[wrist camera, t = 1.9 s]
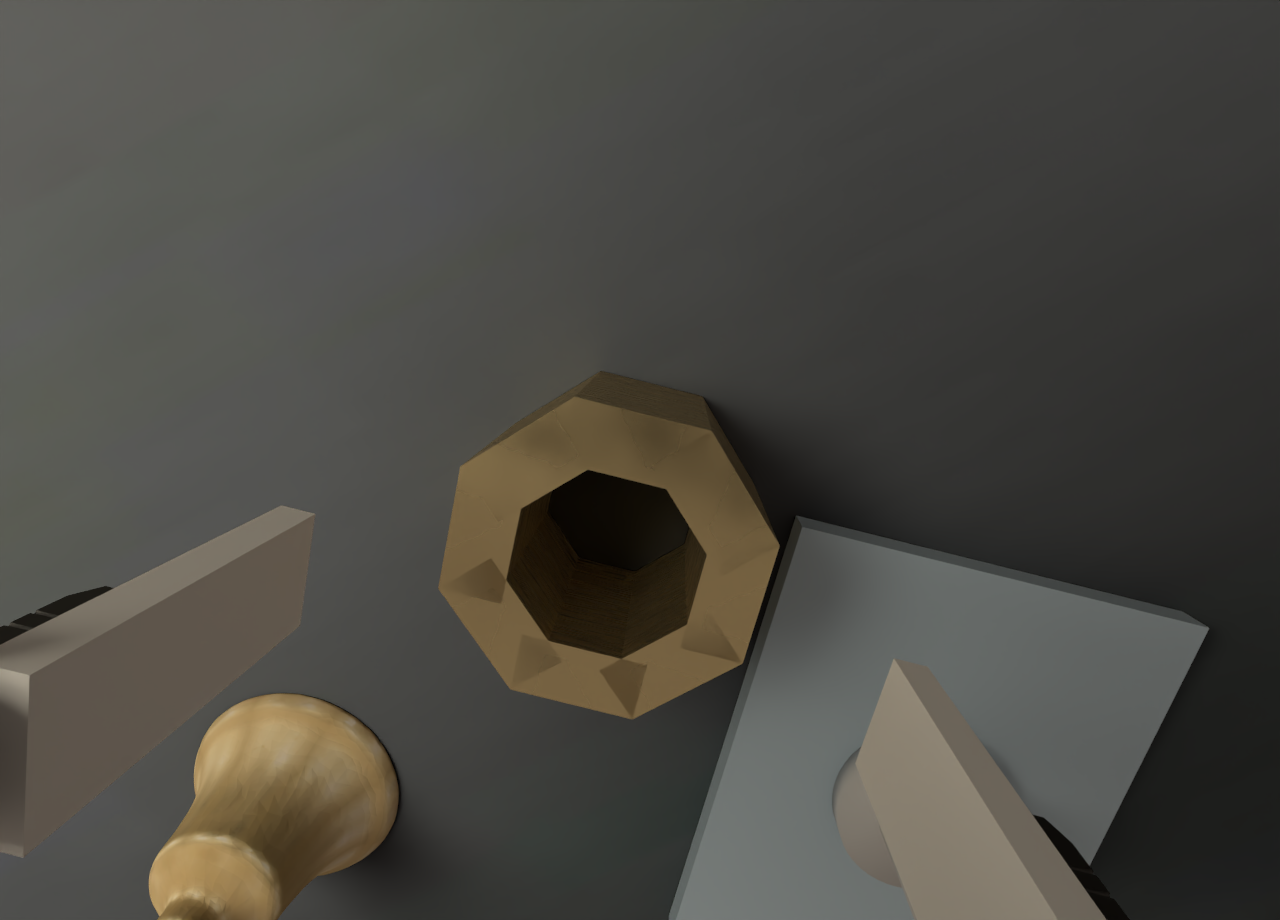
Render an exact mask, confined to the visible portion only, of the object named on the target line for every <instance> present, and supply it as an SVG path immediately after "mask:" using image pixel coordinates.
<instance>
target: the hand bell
mask: <svg viewBox="0 0 1280 920" xmlns="http://www.w3.org/2000/svg"><path fill="white" fill-rule="evenodd" d="M194 787H195V793H196V797H195V800H194V802H193V804H192V806H191V808H190V810H189V811H188V813H187V815H186V816H185V818H184V819H183V821H182V822H181V824H180V825H179V827H178V828H177V830H176V831H175V832H174V834H173V835H172V836H171V838H170V839H169V840H168V842H167V843H166V844H165V845H164V847H163V848H162V849H161V851H160V852H159V854H158V855H157V857H156V859H155V861H154V863H153V865H152V868H151V872H150V877H149V891H150V897H151V900H152V903H153V905H154V907H155V909H156V911H157V913H158V914H159V916H160V917H159V918H158V919H157V920H277V919H278V918H279V916H280V915H281V914H282V912H283V911H284V910H285V909H286V907H287V906H288V905H289V904H290V903H291V901H292V900H293V899H294V898H295V897H296V896H297V895H298V894H299V893H300V892H301V890H302V889H303V888H304V887H305V886H306V885H307V884H308V883H309V882H310V881H312V880H313V879H314V878H315V877H317V876H320V875H326V874H330V873H333V872H337V871H340V870H342V869H345V868H347V867H349V866H351V865H353V864H355V863H357V862H359V861H360V860H362V859H364V858H365V857H366V856H368V855H369V854H370V853H372V852H373V851H374V850H375V849H376V848H377V847H378V846H379V845H380V844H381V843H382V842H383V840H384V839H385V837H386V836H387V834H388V833H389V831H390V829H391V827H392V825H393V823H394V821H395V817H396V814H397V808H398V801H399V800H398V798H399V789H398V782H397V777H396V773H395V770H394V768H393V765H392V763H391V760H390V757H389V756H388V754H387V752H386V750H385V748H384V747H383V746H382V744H381V743H380V742H379V740H378V738H377V737H376V736H375V735H374V733H373V732H372V731H371V730H370V729H369V728H368V727H366V726H365V725H364V724H363V723H362V722H360V721H359V720H358V719H357V718H356V717H354V716H352V715H351V714H349V713H348V712H346V711H344V710H343V709H341V708H339V707H337V706H335V705H333V704H331V703H328V702H326V701H324V700H321V699H317V698H314V697H310V696H305V695H301V694H288V693H278V694H268V695H262V696H258V697H254V698H251V699H248V700H245V701H242V702H241V703H239V704H236V705H234V706H233V707H231V708H230V709H228V710H227V711H226V712H224V713H223V714H222V715H220V716H219V717H218V718H217V719H216V720H215V721H214V722H213V724H212V725H211V726H210V728H209V729H208V731H207V732H206V734H205V736H204V738H203V739H202V742H201V745H200V748H199V751H198V754H197V757H196V762H195V768H194Z"/></svg>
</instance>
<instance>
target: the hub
mask: <svg viewBox="0 0 1280 920" xmlns="http://www.w3.org/2000/svg"><path fill="white" fill-rule="evenodd" d="M586 470H591V471H595V472H599V473H603V474H607V475H611V476H615V477H619V478H623V479H627V480H631V481H635V482H639V483H644V484H648V485H652V486H656V487H660V488H664V489H667V491H668V493H669V494H670V496H671V498H672V499H673V501H674V502H675V504H676V506H677V507H678V509H679V511H680V512H681V514H682V515H683V517H684V519H685V520H686V522H687V523H688V525H689V529H688V532H687V536H686V539H685V543H684V545H682V546H680V547H678V548H677V549H675V550H673V551H671V552H669V553H667V554H666V555H664V556H662V557H660V558H658V559H657V560H655V561H653V562H651V563H649V564H647V565H646V566H644V567H642V568H640V569H638V570H636V571H631V570H627V569H622V568H618V567H614V566H610V565H606V564H602V563H598V562H594V561H590V560H586V559H582V558H579V557H578V555H577V554H576V552H575V551H574V549H573V548H572V546H571V545H570V543H569V542H568V540H567V539H566V537H565V536H564V534H563V533H562V531H561V530H560V528H559V527H558V525H557V524H556V522H555V521H554V519H553V518H552V516H551V515H550V513H549V512H548V507H549V503H550V498H551V494H552V490H554V489H556V488H557V487H559V486H561V485H562V484H564V483H566V482H568V481H569V480H571V479H573V478H574V477H576V476H578V475H579V474H581V473H583V472H585V471H586ZM779 547H780V545H779V543H778V540H777V538H776V535H775V533H774V531H773V528H772V526H771V524H770V521H769V519H768V516H767V514H766V512H765V509H764V507H763V504H762V502H761V500H760V497H759V495H758V493H757V490H756V488H755V485H754V483H753V481H752V480H751V478H750V476H749V475H748V473H747V471H746V469H745V468H744V466H743V464H742V463H741V461H740V459H739V458H738V456H737V454H736V453H735V451H734V449H733V447H732V446H731V444H730V442H729V441H728V439H727V437H726V436H725V434H724V432H723V430H722V429H721V427H720V425H719V424H718V422H717V420H716V419H715V417H714V415H713V414H712V412H711V410H710V408H709V407H708V405H707V403H706V402H705V400H704V398H703V397H702V396H699V395H695V394H691V393H687V392H683V391H679V390H675V389H671V388H667V387H663V386H659V385H655V384H651V383H647V382H643V381H639V380H635V379H631V378H627V377H623V376H619V375H615V374H611V373H607V372H603V371H600V372H598V373H597V374H595V375H594V376H592V377H590V378H589V379H587V380H585V381H584V382H582V383H581V384H579V385H577V386H576V387H574V388H572V389H571V390H569V391H567V392H566V393H564V394H563V395H561V396H559V397H558V398H556V399H554V400H553V401H551V402H550V403H548V404H546V405H545V406H543V407H541V408H540V409H538V410H537V411H535V412H533V413H532V414H530V415H528V416H527V417H525V418H523V419H522V420H520V421H519V422H517V423H515V424H514V425H513V426H511V427H510V428H509V429H508V430H506V431H505V432H504V433H502V434H501V435H500V436H499V437H497V438H496V439H495V440H494V441H492V442H491V443H490V444H488V445H487V446H486V447H485V448H483V449H482V450H481V451H480V452H478V453H477V454H476V455H474V456H473V457H472V458H471V459H469V460H468V461H467V462H466V463H464V464H463V465H462V466H460V472H459V477H458V483H457V488H456V494H455V499H454V505H453V510H452V516H451V521H450V527H449V532H448V538H447V543H446V549H445V554H444V560H443V566H442V571H441V577H440V582H439V588H438V589H439V590H440V592H441V593H442V594H443V596H444V597H445V599H446V600H447V601H448V603H449V604H450V606H451V607H452V608H453V610H454V611H455V613H456V614H457V615H458V617H459V618H460V620H461V621H462V622H463V624H464V625H465V627H466V628H467V629H468V631H469V632H470V634H471V635H472V636H473V638H474V639H475V641H476V642H477V643H478V645H479V646H480V648H481V649H482V650H483V652H484V653H485V655H486V656H487V657H488V659H489V660H490V662H491V663H492V664H493V666H494V667H495V669H496V670H497V671H498V673H499V674H500V676H501V677H502V678H503V680H504V681H505V683H506V684H507V685H508V687H509V688H510V689H511V690H515V691H519V692H523V693H527V694H531V695H535V696H539V697H543V698H547V699H552V700H556V701H560V702H564V703H568V704H572V705H576V706H580V707H584V708H588V709H592V710H596V711H600V712H604V713H608V714H613V715H617V716H621V717H625V718H629V719H634V718H636V717H638V716H640V715H642V714H644V713H646V712H648V711H650V710H652V709H654V708H656V707H658V706H660V705H662V704H664V703H666V702H668V701H670V700H672V699H674V698H676V697H678V696H680V695H682V694H683V693H685V692H687V691H689V690H691V689H693V688H695V687H697V686H699V685H701V684H703V683H705V682H707V681H709V680H711V679H713V678H715V677H717V676H719V675H721V674H723V673H725V672H727V671H729V670H731V669H733V668H735V667H737V666H739V665H741V664H743V661H744V658H745V655H746V651H747V648H748V645H749V642H750V639H751V636H752V632H753V629H754V626H755V623H756V620H757V617H758V613H759V610H760V607H761V604H762V601H763V597H764V594H765V591H766V588H767V585H768V582H769V578H770V575H771V572H772V569H773V566H774V563H775V559H776V556H777V553H778V550H779Z"/></svg>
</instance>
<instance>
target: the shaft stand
mask: <svg viewBox="0 0 1280 920" xmlns="http://www.w3.org/2000/svg"><path fill="white" fill-rule="evenodd" d="M1208 630H1209V627H1207V626H1205V625H1204V624H1202V623H1200V622H1199V621H1197V620H1196V619H1194V618H1192V617H1191V616H1189V615H1188V614H1186V613H1184V612H1183V611H1179V610H1175V609H1171V608H1167V607H1162V606H1158V605H1154V604H1150V603H1146V602H1142V601H1138V600H1134V599H1130V598H1126V597H1122V596H1118V595H1114V594H1110V593H1106V592H1102V591H1098V590H1094V589H1090V588H1086V587H1082V586H1078V585H1074V584H1070V583H1066V582H1062V581H1058V580H1054V579H1050V578H1046V577H1042V576H1038V575H1034V574H1030V573H1026V572H1022V571H1018V570H1014V569H1010V568H1006V567H1002V566H998V565H993V564H989V563H985V562H981V561H977V560H973V559H969V558H965V557H961V556H957V555H953V554H949V553H945V552H941V551H937V550H933V549H929V548H925V547H921V546H917V545H913V544H909V543H905V542H901V541H897V540H893V539H889V538H885V537H881V536H877V535H873V534H869V533H865V532H861V531H857V530H853V529H849V528H845V527H841V526H837V525H833V524H829V523H825V522H820V521H816V520H812V519H808V518H804V517H800V516H796V517H795V520H794V523H793V527H792V530H791V533H790V536H789V539H788V542H787V545H786V549H785V552H784V555H783V558H782V561H781V564H780V567H779V571H778V574H777V577H776V580H775V583H774V586H773V590H772V593H771V596H770V599H769V602H768V605H767V608H766V612H765V615H764V618H763V621H762V624H761V627H760V630H759V634H758V637H757V640H756V643H755V646H754V649H753V652H752V656H751V659H750V662H749V665H748V668H747V671H746V674H745V678H744V681H743V684H742V687H741V690H740V693H739V697H738V700H737V703H736V706H735V709H734V712H733V715H732V719H731V722H730V725H729V728H728V731H727V734H726V737H725V741H724V744H723V747H722V750H721V753H720V756H719V759H718V763H717V766H716V769H715V772H714V775H713V778H712V781H711V785H710V788H709V791H708V794H707V797H706V800H705V803H704V807H703V810H702V813H701V816H700V819H699V822H698V826H697V829H696V832H695V835H694V838H693V841H692V844H691V848H690V851H689V854H688V857H687V860H686V863H685V866H684V870H683V873H682V876H681V879H680V882H679V885H678V888H677V892H676V895H675V898H674V901H673V904H672V907H671V910H670V914H669V920H917V919H916V916H915V914H914V911H913V908H912V906H911V903H910V901H909V898H908V896H907V893H906V891H905V888H904V886H903V883H902V881H901V878H900V876H899V873H898V871H897V868H896V866H895V863H894V860H893V858H892V855H891V853H890V850H889V848H888V845H887V843H886V840H885V838H884V835H883V833H882V830H881V828H880V825H879V823H878V820H877V818H876V815H875V812H874V810H873V807H872V805H871V802H870V800H869V797H868V795H867V792H866V790H865V787H864V785H863V782H862V780H861V777H860V775H859V772H858V770H857V767H856V764H855V763H856V760H857V757H858V755H859V752H860V749H861V746H862V744H863V741H864V738H865V736H866V733H867V730H868V727H869V725H870V722H871V719H872V716H873V714H874V711H875V708H876V706H877V703H878V700H879V697H880V695H881V692H882V689H883V687H884V684H885V681H886V678H887V676H888V673H889V670H890V668H891V665H892V662H893V659H894V658H895V659H899V660H903V661H907V662H911V663H915V664H919V665H923V666H927V667H928V668H929V669H930V671H931V672H932V674H933V675H934V676H935V678H936V679H937V681H938V682H939V683H940V685H941V686H942V688H943V689H944V691H945V692H946V693H947V695H948V696H949V698H950V699H951V700H952V702H953V703H954V705H955V706H956V708H957V709H958V710H959V712H960V713H961V715H962V716H963V717H964V719H965V720H966V722H967V723H968V725H969V726H970V727H971V729H972V730H973V732H974V733H975V734H976V736H977V737H978V739H979V740H980V741H981V743H982V744H983V746H984V747H985V749H986V750H987V751H988V753H989V754H990V756H991V757H992V758H993V760H994V761H995V763H996V764H997V766H998V767H999V768H1000V770H1001V771H1002V773H1003V774H1004V775H1005V777H1006V778H1007V780H1008V781H1009V783H1010V784H1011V785H1012V787H1013V788H1014V790H1015V791H1016V792H1017V794H1018V795H1019V797H1020V798H1021V799H1022V801H1023V802H1024V804H1025V805H1026V807H1027V808H1028V809H1029V811H1030V812H1031V814H1032V815H1036V816H1040V817H1044V818H1045V819H1046V820H1047V821H1048V822H1049V823H1051V824H1052V825H1053V826H1054V827H1055V828H1056V829H1057V830H1058V831H1059V832H1061V833H1062V834H1063V835H1064V836H1065V837H1066V838H1067V839H1068V840H1069V841H1070V842H1072V843H1073V845H1074V846H1075V847H1076V849H1077V850H1078V851H1079V853H1080V854H1081V855H1082V857H1083V858H1084V859H1085V861H1086V862H1087V863H1088V865H1089V866H1090V864H1091V862H1092V860H1093V858H1094V856H1095V854H1096V852H1097V850H1098V848H1099V846H1100V844H1101V842H1102V840H1103V838H1104V836H1105V834H1106V832H1107V830H1108V828H1109V826H1110V824H1111V822H1112V821H1113V819H1114V817H1115V815H1116V813H1117V811H1118V809H1119V807H1120V805H1121V803H1122V801H1123V799H1124V797H1125V795H1126V793H1127V791H1128V789H1129V787H1130V785H1131V783H1132V781H1133V779H1134V777H1135V775H1136V773H1137V771H1138V769H1139V767H1140V765H1141V763H1142V761H1143V759H1144V757H1145V755H1146V753H1147V751H1148V749H1149V747H1150V745H1151V743H1152V741H1153V739H1154V737H1155V735H1156V733H1157V731H1158V729H1159V727H1160V725H1161V723H1162V721H1163V719H1164V717H1165V715H1166V713H1167V711H1168V709H1169V707H1170V705H1171V703H1172V701H1173V699H1174V697H1175V695H1176V693H1177V691H1178V689H1179V687H1180V686H1181V684H1182V682H1183V680H1184V678H1185V676H1186V674H1187V672H1188V670H1189V668H1190V666H1191V664H1192V662H1193V660H1194V658H1195V656H1196V654H1197V652H1198V650H1199V648H1200V646H1201V644H1202V642H1203V640H1204V638H1205V636H1206V634H1207V632H1208Z"/></svg>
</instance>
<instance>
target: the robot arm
mask: <svg viewBox="0 0 1280 920" xmlns="http://www.w3.org/2000/svg"><path fill="white" fill-rule="evenodd" d="M314 519H315V514H313V513H309V512H305V511H301V510H297V509H293V508H289V507H285V506H279V507H277V508H275V509H273V510H271V511H269V512H267V513H265V514H263V515H261V516H259V517H257V518H255V519H253V520H251V521H249V522H247V523H245V524H243V525H241V526H239V527H237V528H235V529H233V530H231V531H229V532H227V533H225V534H223V535H221V536H219V537H217V538H215V539H213V540H211V541H209V542H207V543H205V544H203V545H201V546H199V547H197V548H195V549H193V550H190V551H188V552H186V553H184V554H182V555H180V556H178V557H176V558H174V559H172V560H170V561H168V562H166V563H164V564H162V565H160V566H158V567H156V568H154V569H152V570H150V571H148V572H146V573H144V574H142V575H140V576H138V577H136V578H134V579H132V580H130V581H128V582H126V583H124V584H122V585H120V586H118V587H116V588H111V587H107V586H104V587H100V588H96V589H92V590H88V591H84V592H80V593H76V594H72V595H68V596H66V597H64V598H62V599H59V600H57V601H55V602H53V603H51V604H49V605H47V606H45V607H42V608H40V609H38V610H36V613H35V614H32V613H30V614H27V615H25V616H23V617H21V618H19V619H17V620H15V621H13V622H11V623H10V625H9V626H2V627H0V852H3V853H7V854H11V855H15V856H19V857H25V856H26V855H27V854H28V853H29V852H30V851H32V850H33V849H34V848H35V847H36V846H38V845H39V844H40V843H41V842H42V841H44V840H45V839H46V838H47V837H48V836H50V835H51V834H52V833H53V832H54V831H56V830H57V829H58V828H59V827H60V826H61V825H63V824H64V823H65V822H66V821H67V820H69V819H70V818H71V817H72V816H73V815H75V814H76V813H77V812H78V811H79V810H81V809H82V808H83V807H84V806H85V805H87V804H88V803H89V802H90V801H91V800H92V799H94V798H95V797H96V796H97V795H98V794H100V793H101V792H102V791H103V790H104V789H106V788H107V787H108V786H109V785H110V784H112V783H113V782H114V781H115V780H116V779H118V778H119V777H120V776H121V775H122V774H123V773H125V772H126V771H127V770H128V769H129V768H131V767H132V766H133V765H134V764H135V763H137V762H138V761H139V760H140V759H141V758H143V757H144V756H145V755H146V754H147V753H149V752H150V751H151V750H152V749H153V748H154V747H156V746H157V745H158V744H159V743H160V742H162V741H163V740H164V739H165V738H166V737H168V736H169V735H170V734H171V733H172V732H174V731H175V730H176V729H177V728H178V727H180V726H181V725H182V724H183V723H184V722H185V721H187V720H188V719H189V718H190V717H191V716H193V715H194V714H195V713H196V712H197V711H199V710H200V709H201V708H202V707H203V706H205V705H206V704H207V703H208V702H209V701H211V700H212V699H213V698H214V697H215V696H216V695H218V694H219V693H220V692H221V691H222V690H224V689H225V688H226V687H227V686H228V685H230V684H231V683H232V682H233V681H234V680H236V679H237V678H238V677H239V676H240V675H242V674H243V673H244V672H245V671H246V670H247V669H249V668H250V667H251V666H252V665H253V664H255V663H256V662H257V661H258V660H259V659H261V658H262V657H263V656H264V655H265V654H267V653H268V652H269V651H270V650H271V649H273V648H274V647H275V646H276V645H277V644H278V643H280V642H281V641H282V640H283V639H284V638H286V637H287V636H288V635H289V634H290V633H292V632H293V631H294V630H295V629H296V628H298V627H299V626H300V622H301V614H302V607H303V600H304V592H305V585H306V578H307V570H308V563H309V556H310V548H311V541H312V534H313V526H314ZM855 764H856V767H857V770H858V772H859V775H860V777H861V780H862V782H863V785H864V787H865V790H866V792H867V795H868V797H869V800H870V802H871V805H872V807H873V810H874V812H875V815H876V818H877V820H878V823H879V825H880V828H881V830H882V833H883V835H884V838H885V840H886V843H887V845H888V848H889V850H890V853H891V855H892V858H893V860H894V863H895V866H896V868H897V871H898V873H899V876H900V878H901V881H902V883H903V886H904V888H905V891H906V893H907V896H908V898H909V901H910V903H911V906H912V908H913V911H914V914H915V916H916V919H917V920H1129V918H1128V917H1127V916H1126V914H1125V913H1124V912H1123V910H1122V909H1121V908H1120V906H1119V905H1118V904H1117V902H1116V901H1115V900H1114V899H1112V898H1110V896H1109V894H1110V893H1109V892H1108V890H1107V889H1106V888H1105V886H1104V885H1103V884H1102V882H1101V881H1100V880H1099V878H1098V877H1097V876H1095V875H1093V870H1092V869H1091V867H1090V866H1089V865H1088V863H1087V862H1086V861H1085V859H1084V858H1083V857H1082V855H1081V854H1080V853H1079V851H1078V850H1077V849H1076V847H1075V846H1074V845H1073V843H1072V842H1070V841H1069V840H1068V839H1067V838H1066V837H1065V836H1064V835H1063V834H1062V833H1061V832H1059V831H1058V830H1057V829H1056V828H1055V827H1054V826H1053V825H1052V824H1051V823H1049V822H1048V821H1047V820H1046V819H1045V818H1044V817H1040V816H1036V815H1032V814H1031V812H1030V811H1029V809H1028V808H1027V807H1026V805H1025V804H1024V802H1023V801H1022V799H1021V798H1020V797H1019V795H1018V794H1017V792H1016V791H1015V790H1014V788H1013V787H1012V785H1011V784H1010V783H1009V781H1008V780H1007V778H1006V777H1005V775H1004V774H1003V773H1002V771H1001V770H1000V768H999V767H998V766H997V764H996V763H995V761H994V760H993V758H992V757H991V756H990V754H989V753H988V751H987V750H986V749H985V747H984V746H983V744H982V743H981V741H980V740H979V739H978V737H977V736H976V734H975V733H974V732H973V730H972V729H971V727H970V726H969V725H968V723H967V722H966V720H965V719H964V717H963V716H962V715H961V713H960V712H959V710H958V709H957V708H956V706H955V705H954V703H953V702H952V700H951V699H950V698H949V696H948V695H947V693H946V692H945V691H944V689H943V688H942V686H941V685H940V683H939V682H938V681H937V679H936V678H935V676H934V675H933V674H932V672H931V671H930V669H929V668H928V667H927V666H923V665H919V664H915V663H911V662H907V661H903V660H899V659H895V658H894V659H893V662H892V665H891V668H890V670H889V673H888V676H887V678H886V681H885V684H884V687H883V689H882V692H881V695H880V697H879V700H878V703H877V706H876V708H875V711H874V714H873V716H872V719H871V722H870V725H869V727H868V730H867V733H866V736H865V738H864V741H863V744H862V746H861V749H860V752H859V755H858V757H857V760H856V763H855Z"/></svg>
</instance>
